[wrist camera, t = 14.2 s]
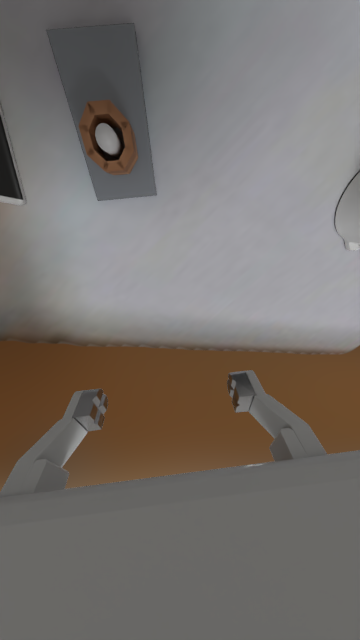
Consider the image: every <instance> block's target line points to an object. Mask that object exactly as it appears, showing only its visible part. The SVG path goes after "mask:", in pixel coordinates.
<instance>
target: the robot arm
mask: <svg viewBox="0 0 360 640" xmlns="http://www.w3.org/2000/svg"><path fill="white" fill-rule="evenodd" d="M335 226H336V230H337V232H338V234H339V235H340V236H341V237H342V238H343V239H344V241H345V247H346V249H347V250H349V251H355V250H358V249H360V172H359V173H358V174H357V176H356V177H355V178H354V179H353V180H352V182H351V183H350V184H349V186H348V187H347V189H346V191H345V192H344V194H343V196H342V198H341V200H340V202H339V205H338V208H337V211H336V217H335ZM228 378H229V379H228V381H227V388H228V392H229V395H230V396H231V397H232V404H233V407H234V410H235V412H246V411H249V413H250V414H252V416H253V417H254V418H255V419H256V420H257V421H258V422H259V423H260V424H261V425H262V426H263V427H264V428H265V429H266V430H267V431H268V432H269V433H270V434H271V435H272V436H273V437H274V438H275V439H274V441H273V442H272V444H271V445H270V451H271V453H272V455H273V458H274V460H275V462H267V463H260V464H252V465H244V466H237V467H229V468H221V469H214V470H206V471H199V472H191V473H185V474H184V473H183V474H176V475H168V476H160V477H153V478H146V479H138V480H130V481H123V482H115V483H107V484H100V485H92V486H84V487H77V488H70V489H64V488H65V485H66V482H67V479H68V476H69V473H68V471H66V470H64V469H63V468H62V466H63V465H64V464H65V463H66V461H67V460H68V458H69V457H70V456H71V454H72V453H73V452H74V450H75V449H76V448H77V446H78V445H79V443H80V442H81V441H82V439H83V438H84V437H85V435H86V434H87V431H93V430H99V429H102V426H103V422H104V415H103V414H104V413H105V411H106V410H107V406H108V399H107V396H106V395H104V394H103V390H102V389H94V390H84V391H77V392H75V393H74V395H73V397H72V399H71V401H70V403H69V405H68V408H67V410H66V412H65V414H64V416H63V419H62V420H59V421H58V422H57V423H56V424H55V425H54V426H53V427H52V428H51V429H50V430H49V431H48V432H47V433H46V434H45V435H44V436H43V437H42V438H41V439H40V440H39V441H38V442H37V443H36V444H35V445H34V446H33V447H31V449H29V450H28V452H26V453H25V454H24V455H23V456H22V457H21V458H20V459H19V460H18V461H17V463H16V465H15V467H14V468H13V470H12V472H11V474H10V476H9V477H8V479H7V481H6V483H5V485H4V486H3V488H2V490H1V492H0V640H360V450H359V451H351V452H344V453H336V454H328V455H327V453H326V452H325V450H324V448H323V447H322V445H321V444H320V442H319V441H318V439H317V437H316V436H315V434H314V433H313V431H312V429H311V428H310V426H309V425H308V424H307V423H305V422H304V421H303V420H302V419H300V418H299V417H298V416H296V415H295V414H293V413H292V412H291V411H290V410H288V409H287V408H286V407H284V406H283V405H282V404H281V403H279V402H278V401H277V400H275V399H274V398H273V397H271V396H270V395H269V394H265V392H264V390H263V388H262V386H261V384H260V383H259V380H258V379H257V377H256V375H255V373H254V372H253V371H252V370H250V371H241V372H234V373H229V374H228Z"/></svg>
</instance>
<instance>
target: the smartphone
mask: <svg viewBox="0 0 360 640" xmlns="http://www.w3.org/2000/svg"><path fill="white" fill-rule="evenodd" d="M0 202H5V203H10V204H14V205H25V204H26V198H25V194H24V190H23V186H22V183H21V179H20V175H19V171H18V167H17V164H16V160H15V156H14V152H13V149H12V145H11V141H10V137H9V133H8V130H7V126H6V122H5V118H4V114H3V111H2V107H1V103H0Z"/></svg>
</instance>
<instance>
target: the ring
mask: <svg viewBox="0 0 360 640" xmlns="http://www.w3.org/2000/svg"><path fill="white" fill-rule="evenodd" d="M101 123H105V124H108V125H109V126H110V127H111V128H116V127H118V128H119V129H120V130H121V131H122V133H123V138H124V143H125V148H124V150H123V152H122V154H121V156H120V159H119V160H116V161H108V160H107V159H106V158H105V157H104V153H103V149H101V147H100V146H99V145H98V143H97V141H96V137H95V131H96V128H97V126H98V125H99V124H101ZM79 130H80V133H81V136H82V140H83V143H84V147H85V150H86V153H87V155H88V156H89V157H90V158H91V159H92V160H93V161H94V162H95V163H96V164H97V165H99V166H100V167H101V168H102V169H103V170H104V171H105V172H107V173H109V174H112V175H123V174H130V173H131V171H132V169H133V167H134V165H135V163H136V161H137V159H138V152H137V146H136V140H135V134H134V132H133V129H132V127H131V125H130V123H129V121H128V120H127V119H126V118H125V117H124V116H123V114H122V113H121V112H120V111H119V110H118V109H117V108H116V107H115V105H114V104H113V103H112V102H111V101H110V100H100V101H88V102H87V104H86V107H85V109H84V112H83V115H82V118H81V120H80V123H79Z"/></svg>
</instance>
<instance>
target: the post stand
mask: <svg viewBox="0 0 360 640" xmlns="http://www.w3.org/2000/svg"><path fill="white" fill-rule="evenodd" d="M47 34H48V37H49V40H50V44H51V47H52V50H53V54H54V57H55V60H56V64H57V67H58V70H59V74H60V77H61V80H62V83H63V87H64V90H65V93H66V97H67V100H68V103H69V107H70V110H71V113H72V117H73V120H74V123H75V127H76V130H77V133H78V137H79V140H80V143H81V146H82V150H83V153H84V156H85V160H86V163H87V166H88V170H89V173H90V176H91V180H92V183H93V186H94V190H95V193H96V196H97V200H98V201H102V200H113V199H123V198H133V197H143V196H153V195H156V187H155V179H154V171H153V164H152V156H151V148H150V141H149V133H148V125H147V117H146V110H145V102H144V94H143V87H142V79H141V71H140V63H139V56H138V48H137V40H136V33H135V26H134V23H127V24H114V25H101V26H88V27H76V28H63V29H50V30H47ZM100 100H110V101H111V102H112V103H113V104H114V105H115V107H116V108H117V109H118V110H119V111H120V112H121V113H122V114H123V116H124V117H125V118H126V119H127V120H128V121H129V123H130V125H131V127H132V129H133V132H134V134H135V140H136V146H137V152H138V159H137V161H136V163H135V165H134V167H133V169H132V171H131V173H130V174H123V175H112V174H109V173H107V172H105V171H104V170H103V169H102V168H101V167H100V166H99V165H97V164H96V163H95V162H94V161H93V160H92V159H91V158H90V157H89V156H88V155H87V153H86V150H85V147H84V143H83V140H82V136H81V133H80V130H79V123H80V120H81V118H82V115H83V112H84V109H85V107H86V104H87V102H88V101H100ZM95 137H96V141H97V143H98V145H99V146H100V147H101V149H103V153H104V157H105V158H106V159H107V160H108V161H116V160H119V159H120V156H121V154H122V152H123V150H124V148H125V143H124V138H123V133H122V131H121V130H120V129H119V128H118V127H116V128H111V127H110V126H109V125H108V124H105V123H101V124H99V125H98V126H97V128H96V131H95Z"/></svg>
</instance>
